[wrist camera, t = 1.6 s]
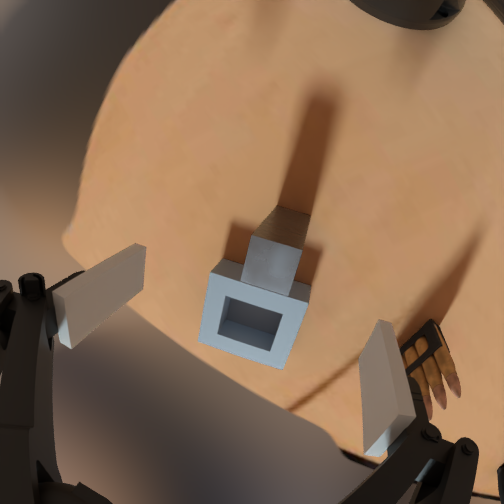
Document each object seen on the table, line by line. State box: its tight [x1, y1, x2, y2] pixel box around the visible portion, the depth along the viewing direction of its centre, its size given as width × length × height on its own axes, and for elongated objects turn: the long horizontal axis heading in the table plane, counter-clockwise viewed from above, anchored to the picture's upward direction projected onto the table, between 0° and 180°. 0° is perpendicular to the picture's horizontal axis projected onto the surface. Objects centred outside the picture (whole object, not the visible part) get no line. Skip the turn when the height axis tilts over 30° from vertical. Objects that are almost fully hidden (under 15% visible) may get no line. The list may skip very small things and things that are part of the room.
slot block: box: [198, 259, 311, 370], centre depth 33 cm, size 9×10×4 cm
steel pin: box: [240, 206, 310, 296], centre depth 26 cm, size 4×4×11 cm
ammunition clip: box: [399, 319, 461, 420], centre depth 27 cm, size 11×2×12 cm, turn 146°
